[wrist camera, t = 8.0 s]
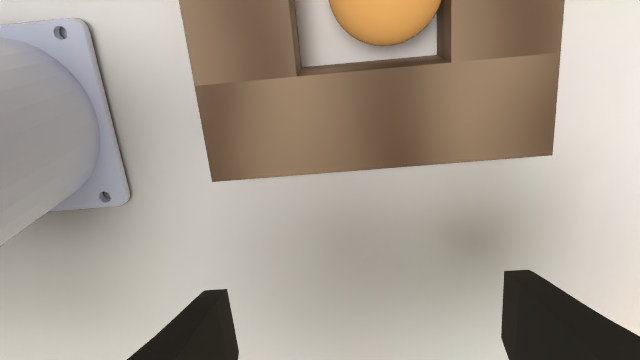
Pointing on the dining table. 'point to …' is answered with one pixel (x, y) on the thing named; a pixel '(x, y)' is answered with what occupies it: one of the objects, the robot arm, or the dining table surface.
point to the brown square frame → (372, 91)
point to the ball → (384, 18)
